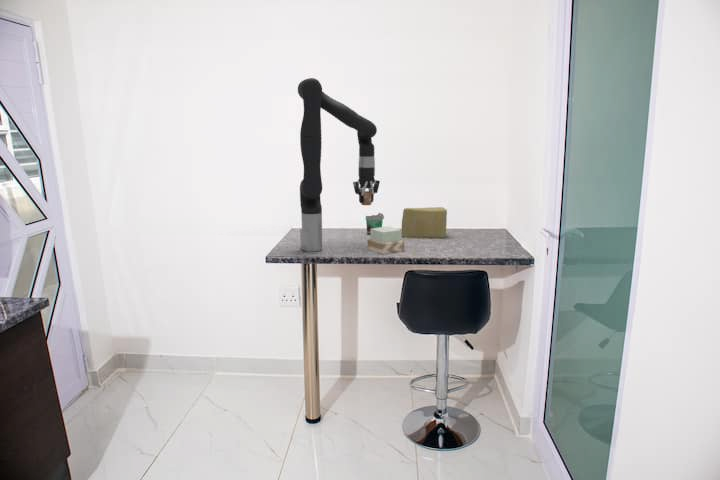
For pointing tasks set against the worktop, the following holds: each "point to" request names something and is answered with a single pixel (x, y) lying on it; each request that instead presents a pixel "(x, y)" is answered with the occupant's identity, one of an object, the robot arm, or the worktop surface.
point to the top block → (385, 234)
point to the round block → (367, 198)
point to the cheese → (424, 222)
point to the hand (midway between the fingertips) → (366, 202)
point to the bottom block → (385, 246)
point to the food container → (374, 221)
